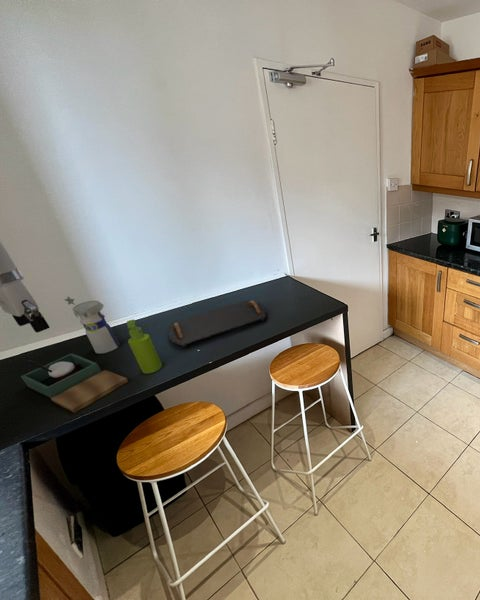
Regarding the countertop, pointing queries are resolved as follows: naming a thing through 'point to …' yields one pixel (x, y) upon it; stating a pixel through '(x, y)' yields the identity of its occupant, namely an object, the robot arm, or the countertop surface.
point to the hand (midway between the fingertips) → (34, 326)
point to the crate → (64, 384)
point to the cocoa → (60, 369)
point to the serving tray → (215, 322)
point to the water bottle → (95, 326)
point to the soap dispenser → (143, 349)
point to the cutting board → (89, 390)
